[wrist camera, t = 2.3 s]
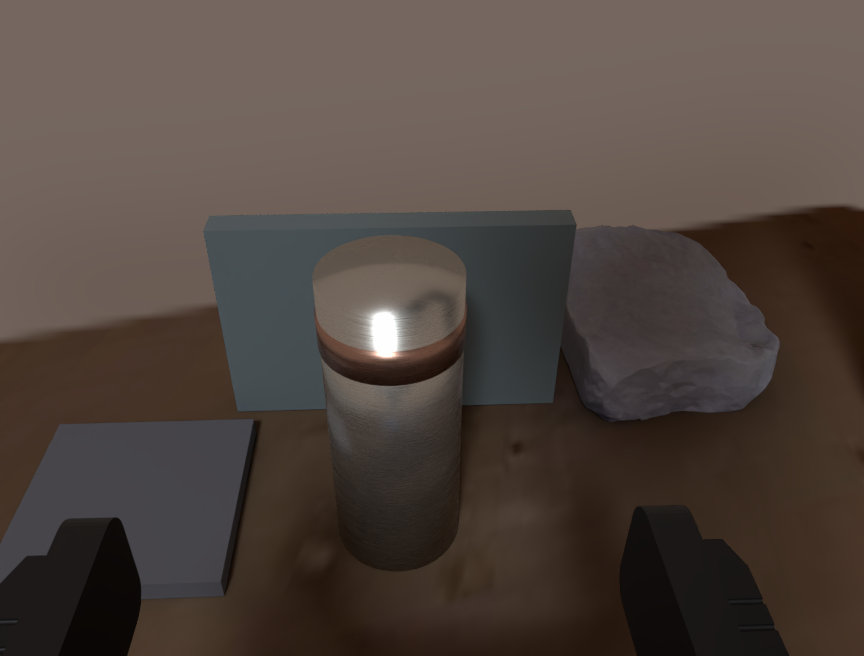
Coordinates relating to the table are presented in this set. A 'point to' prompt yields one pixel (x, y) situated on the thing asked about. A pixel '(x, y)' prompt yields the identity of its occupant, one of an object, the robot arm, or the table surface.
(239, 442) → the dark rubber mat
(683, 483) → the table surface
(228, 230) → the slate screen
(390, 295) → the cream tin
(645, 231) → the stone block
